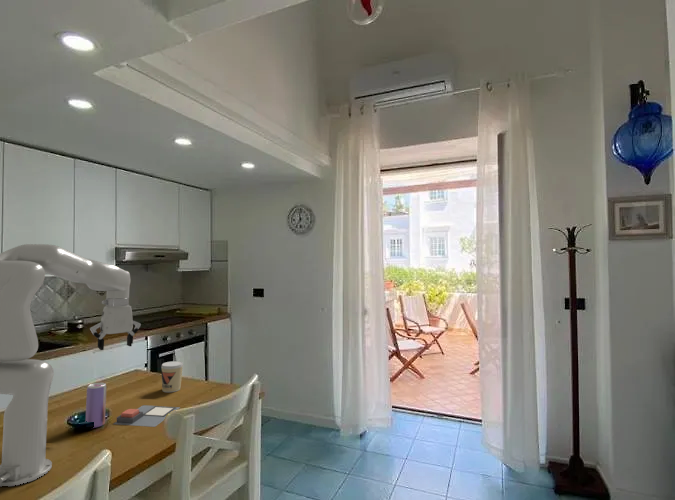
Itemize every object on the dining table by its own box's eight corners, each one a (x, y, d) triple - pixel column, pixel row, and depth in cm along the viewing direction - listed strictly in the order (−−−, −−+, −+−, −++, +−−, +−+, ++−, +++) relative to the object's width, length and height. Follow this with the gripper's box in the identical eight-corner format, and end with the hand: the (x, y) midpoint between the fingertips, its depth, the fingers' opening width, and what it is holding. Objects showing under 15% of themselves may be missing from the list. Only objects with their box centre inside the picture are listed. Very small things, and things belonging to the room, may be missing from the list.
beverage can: (95, 431, 132) (97, 388, 132) (80, 429, 133) (82, 386, 133) (108, 424, 138) (110, 383, 138) (95, 422, 139) (96, 381, 139)
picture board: (154, 429, 134) (155, 421, 134) (112, 426, 136) (113, 418, 136) (180, 409, 152) (180, 402, 152) (142, 407, 154) (143, 400, 154)
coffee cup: (155, 391, 172) (156, 365, 173) (170, 385, 181) (171, 360, 182) (172, 394, 170) (173, 367, 170) (186, 387, 179) (187, 362, 179)
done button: (131, 419, 138) (132, 413, 138) (121, 418, 138) (121, 413, 138) (138, 414, 142) (139, 409, 142) (128, 414, 142) (128, 408, 142)
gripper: (94, 305, 136) (92, 352, 135) (145, 302, 148) (143, 346, 148) (88, 303, 141) (86, 349, 140) (137, 300, 153) (135, 343, 153)
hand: (115, 347), depth 144 cm, fingers open, 9 cm apart
